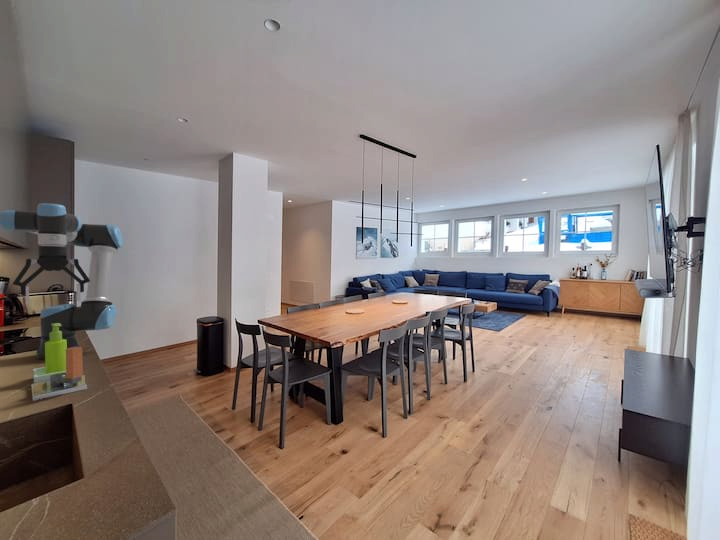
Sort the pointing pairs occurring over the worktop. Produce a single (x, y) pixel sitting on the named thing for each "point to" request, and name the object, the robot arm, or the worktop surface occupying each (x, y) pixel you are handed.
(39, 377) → the tray
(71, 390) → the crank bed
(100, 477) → the worktop surface
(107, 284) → the robot arm
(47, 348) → the soap dispenser
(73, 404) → the worktop surface
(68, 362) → the crank
